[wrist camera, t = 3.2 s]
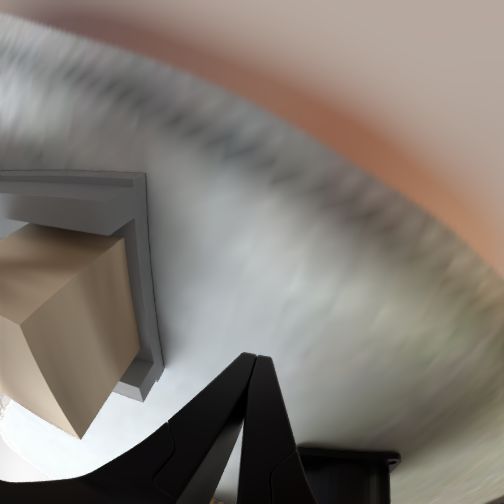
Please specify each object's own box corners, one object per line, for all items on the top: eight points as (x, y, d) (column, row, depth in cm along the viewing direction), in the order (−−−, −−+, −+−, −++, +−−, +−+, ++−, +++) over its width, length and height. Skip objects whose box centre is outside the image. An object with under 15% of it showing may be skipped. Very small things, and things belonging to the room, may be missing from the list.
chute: (145, 173, 10) (81, 204, 7) (164, 370, 14) (134, 423, 11) (-47, 173, 12) (-86, 191, 9) (-16, 298, 16) (-45, 323, 13)
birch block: (124, 237, 10) (19, 324, 5) (141, 347, 12) (80, 440, 8) (30, 222, 11) (-59, 279, 6) (55, 318, 13) (-8, 384, 8)
